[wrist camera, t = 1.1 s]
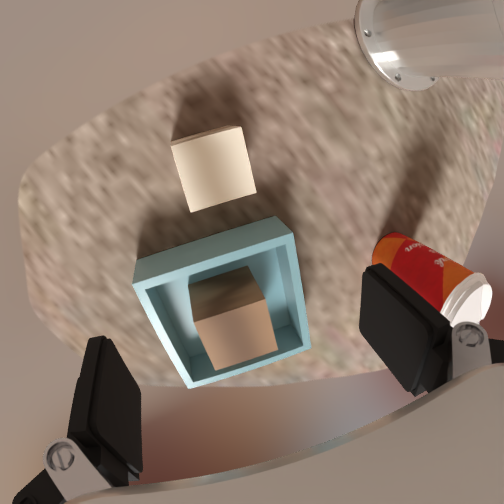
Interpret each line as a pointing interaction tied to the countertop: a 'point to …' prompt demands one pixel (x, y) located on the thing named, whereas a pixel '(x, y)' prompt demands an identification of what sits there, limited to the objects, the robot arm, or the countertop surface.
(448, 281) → the paper cup
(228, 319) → the walnut block
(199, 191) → the birch block
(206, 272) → the tote
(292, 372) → the countertop surface
